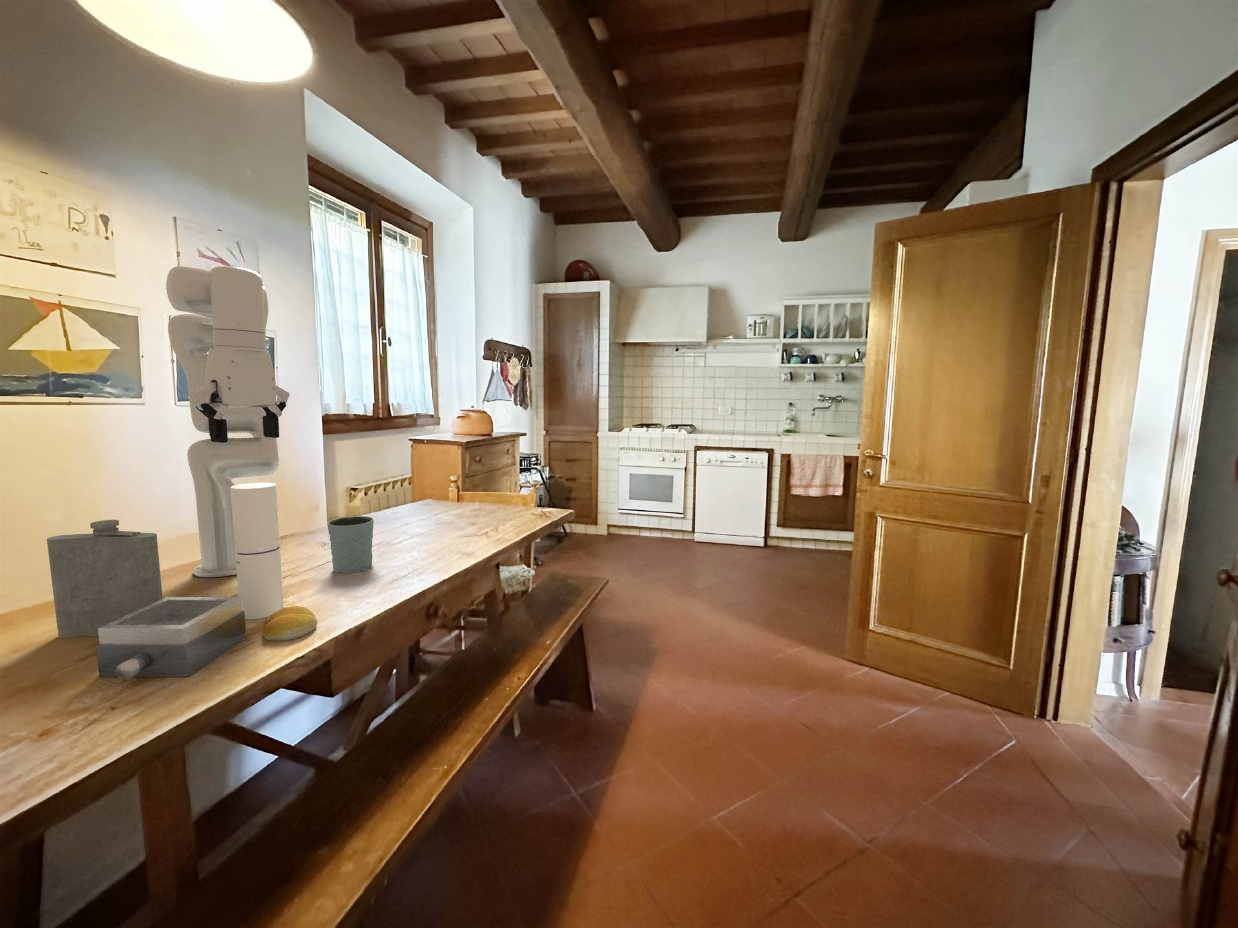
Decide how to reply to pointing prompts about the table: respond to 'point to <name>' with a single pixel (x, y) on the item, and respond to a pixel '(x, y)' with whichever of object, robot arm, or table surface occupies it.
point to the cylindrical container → (257, 548)
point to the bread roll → (289, 623)
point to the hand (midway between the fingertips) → (246, 439)
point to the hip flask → (102, 577)
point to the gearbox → (170, 637)
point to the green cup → (351, 543)
